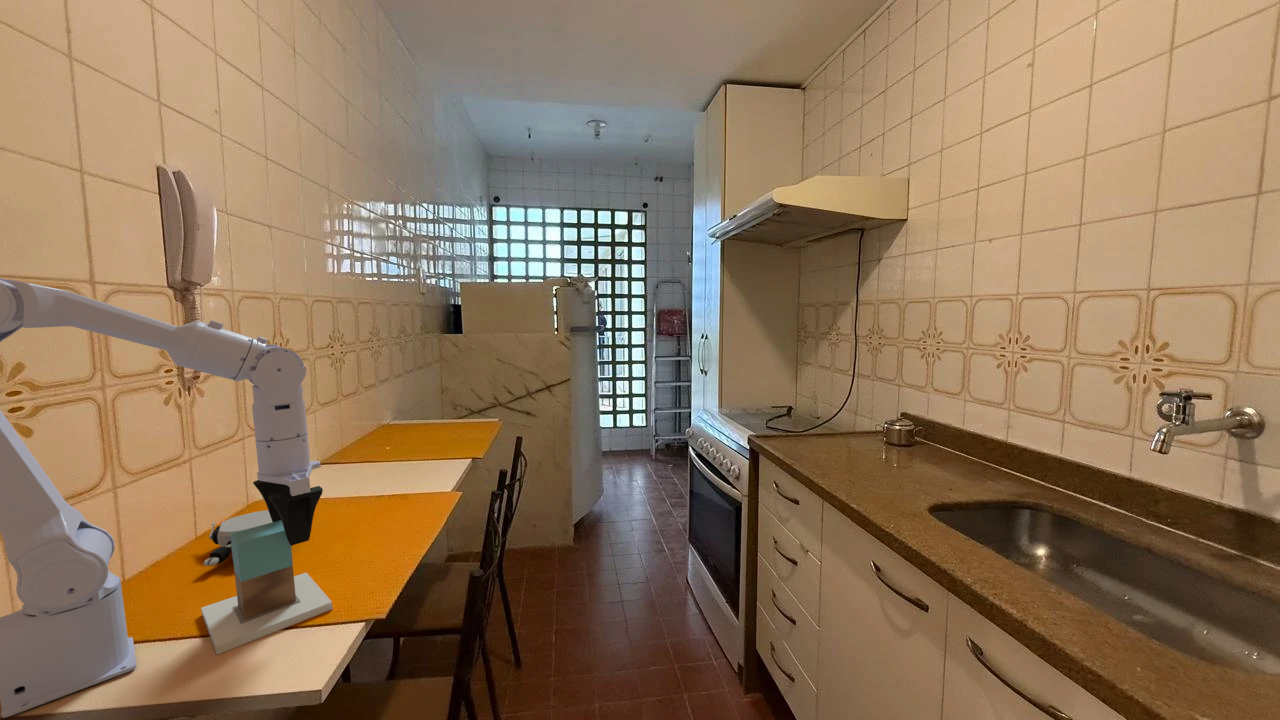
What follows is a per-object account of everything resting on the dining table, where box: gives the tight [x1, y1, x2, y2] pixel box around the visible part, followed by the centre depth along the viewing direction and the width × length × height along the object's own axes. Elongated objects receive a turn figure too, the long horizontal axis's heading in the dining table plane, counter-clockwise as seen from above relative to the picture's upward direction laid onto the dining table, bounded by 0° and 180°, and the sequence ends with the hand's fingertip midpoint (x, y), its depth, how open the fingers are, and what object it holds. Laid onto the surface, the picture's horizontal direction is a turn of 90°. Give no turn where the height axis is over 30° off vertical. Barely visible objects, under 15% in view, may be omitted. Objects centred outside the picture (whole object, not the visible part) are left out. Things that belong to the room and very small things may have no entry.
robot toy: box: [203, 509, 272, 567], centre depth 86 cm, size 12×4×15 cm
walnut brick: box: [234, 564, 296, 619], centre depth 67 cm, size 6×4×5 cm
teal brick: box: [230, 520, 294, 582], centre depth 67 cm, size 6×4×5 cm
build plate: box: [200, 571, 333, 655], centre depth 68 cm, size 12×12×1 cm
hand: (291, 534), depth 69 cm, fingers open, 7 cm apart
